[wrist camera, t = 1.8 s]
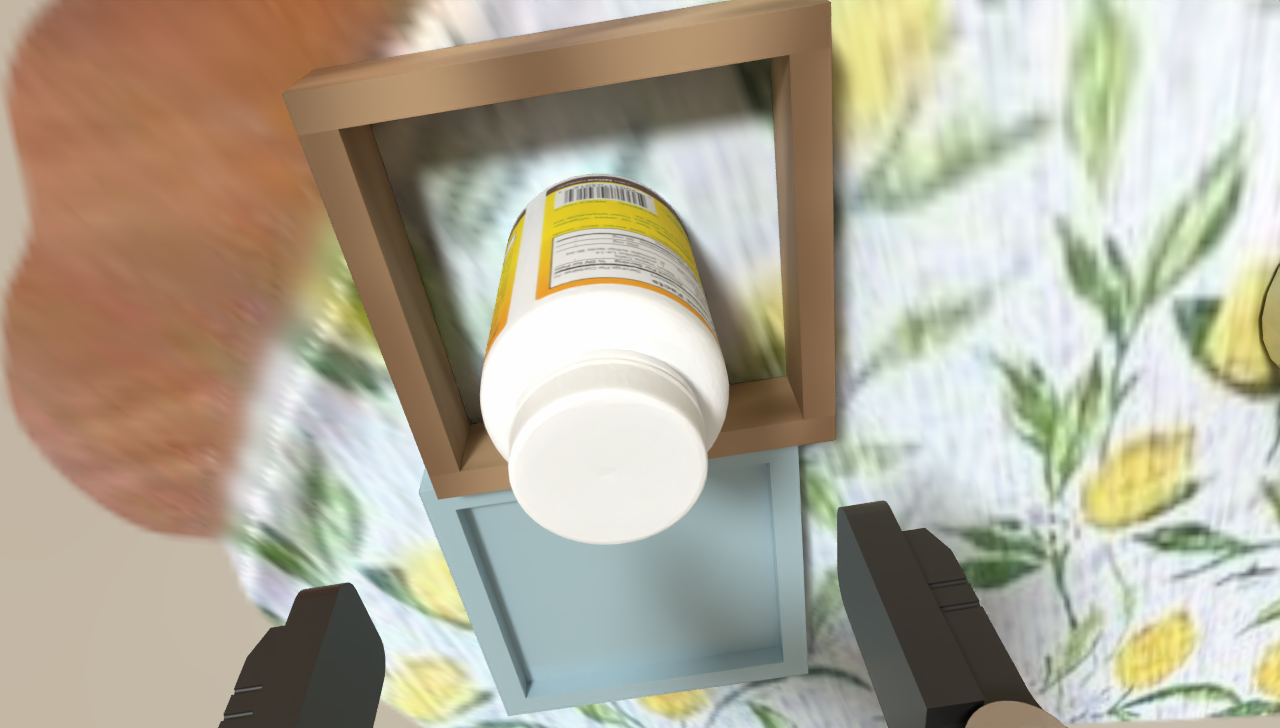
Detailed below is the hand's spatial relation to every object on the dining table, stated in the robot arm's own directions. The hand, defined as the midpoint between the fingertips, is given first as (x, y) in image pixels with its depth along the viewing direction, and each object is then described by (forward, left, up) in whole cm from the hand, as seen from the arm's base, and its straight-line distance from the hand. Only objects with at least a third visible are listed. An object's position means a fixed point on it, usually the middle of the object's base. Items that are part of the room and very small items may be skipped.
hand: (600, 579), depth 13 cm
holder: (0, 0, -13) cm, 13 cm away
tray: (+1, +14, -13) cm, 19 cm away
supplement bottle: (0, 0, -13) cm, 13 cm away
